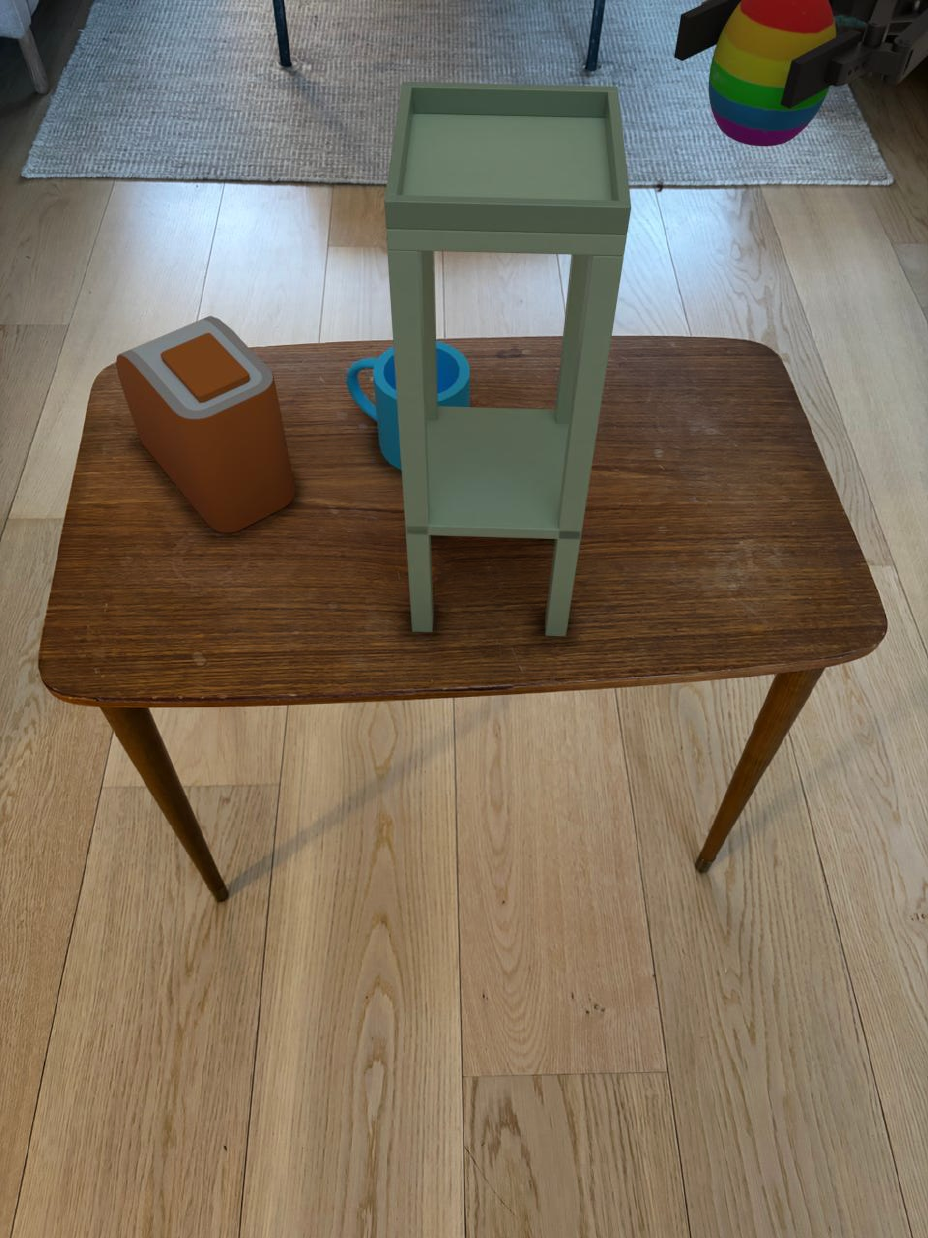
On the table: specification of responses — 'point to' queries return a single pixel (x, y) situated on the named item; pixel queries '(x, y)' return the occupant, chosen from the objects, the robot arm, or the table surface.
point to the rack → (503, 223)
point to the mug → (449, 389)
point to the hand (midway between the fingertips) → (734, 60)
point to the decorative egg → (765, 68)
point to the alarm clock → (211, 422)
